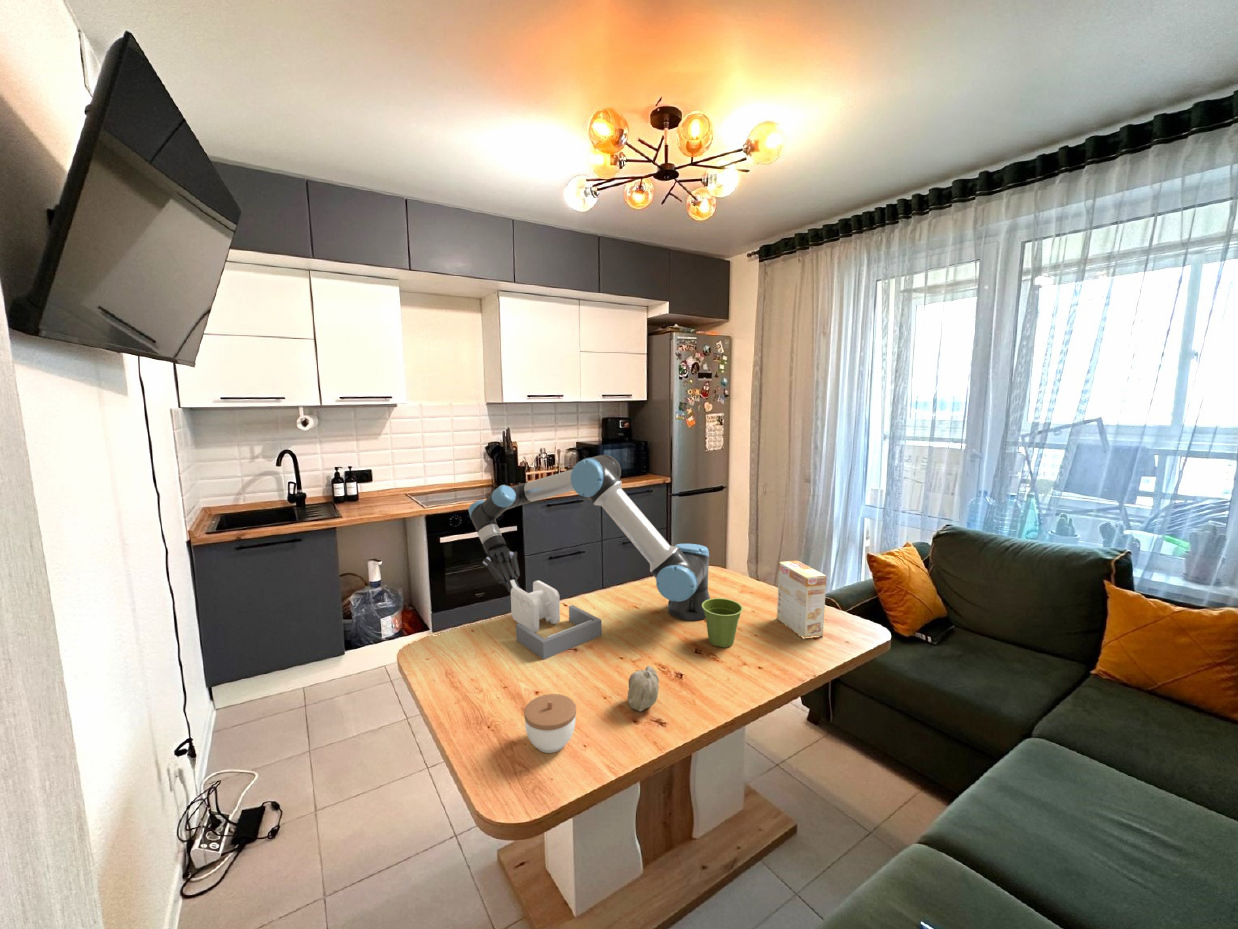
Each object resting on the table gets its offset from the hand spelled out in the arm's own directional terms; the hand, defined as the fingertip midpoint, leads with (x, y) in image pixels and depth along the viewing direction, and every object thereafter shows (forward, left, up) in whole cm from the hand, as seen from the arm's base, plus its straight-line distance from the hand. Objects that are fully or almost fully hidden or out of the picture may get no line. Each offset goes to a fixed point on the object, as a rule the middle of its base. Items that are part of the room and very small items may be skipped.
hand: (518, 598), depth 166 cm
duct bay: (-23, 0, -5) cm, 24 cm away
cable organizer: (-10, 0, -5) cm, 12 cm away
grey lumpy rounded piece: (-64, +5, -5) cm, 64 cm away
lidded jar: (-60, +28, -5) cm, 66 cm away
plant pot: (-58, -34, -5) cm, 68 cm away
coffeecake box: (-69, -60, -5) cm, 92 cm away
